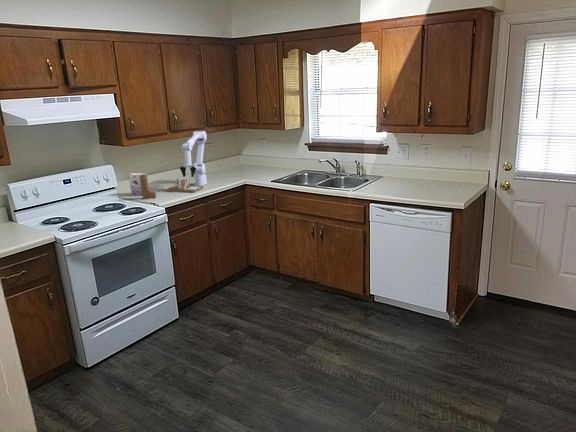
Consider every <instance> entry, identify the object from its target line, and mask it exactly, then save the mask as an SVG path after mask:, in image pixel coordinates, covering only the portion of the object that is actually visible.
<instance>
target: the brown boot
mask: <svg viewBox="0 0 576 432" xmlns="http://www.w3.org/2000/svg"><path fill="white" fill-rule="evenodd" d="M139 177H140V183H141V189H142V195H141V196H142V200H149V199H148V198H153V199H156V198H157V192H156V191H155V190H151V189H150V187H149V181H148V175H147V173H143V174H142V175H140V176H139Z"/></svg>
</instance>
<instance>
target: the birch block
mask: <svg viewBox="0 0 576 432" xmlns="http://www.w3.org/2000/svg"><path fill="white" fill-rule="evenodd" d="M180 183H181V189H186V188H187V183H186V180H185V179H183V180H181V181H180Z"/></svg>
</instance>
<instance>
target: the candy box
mask: <svg viewBox="0 0 576 432" xmlns="http://www.w3.org/2000/svg"><path fill="white" fill-rule="evenodd" d="M142 174H144V173H142V172H141V173H140V172H139V173H138V172H132V173H128V179H129V185H130V190H131V195H132V194H133V195H134V196H135V195H136V196H143V195H142V189H141V183H140V177H139V176H140V175H142Z"/></svg>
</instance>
